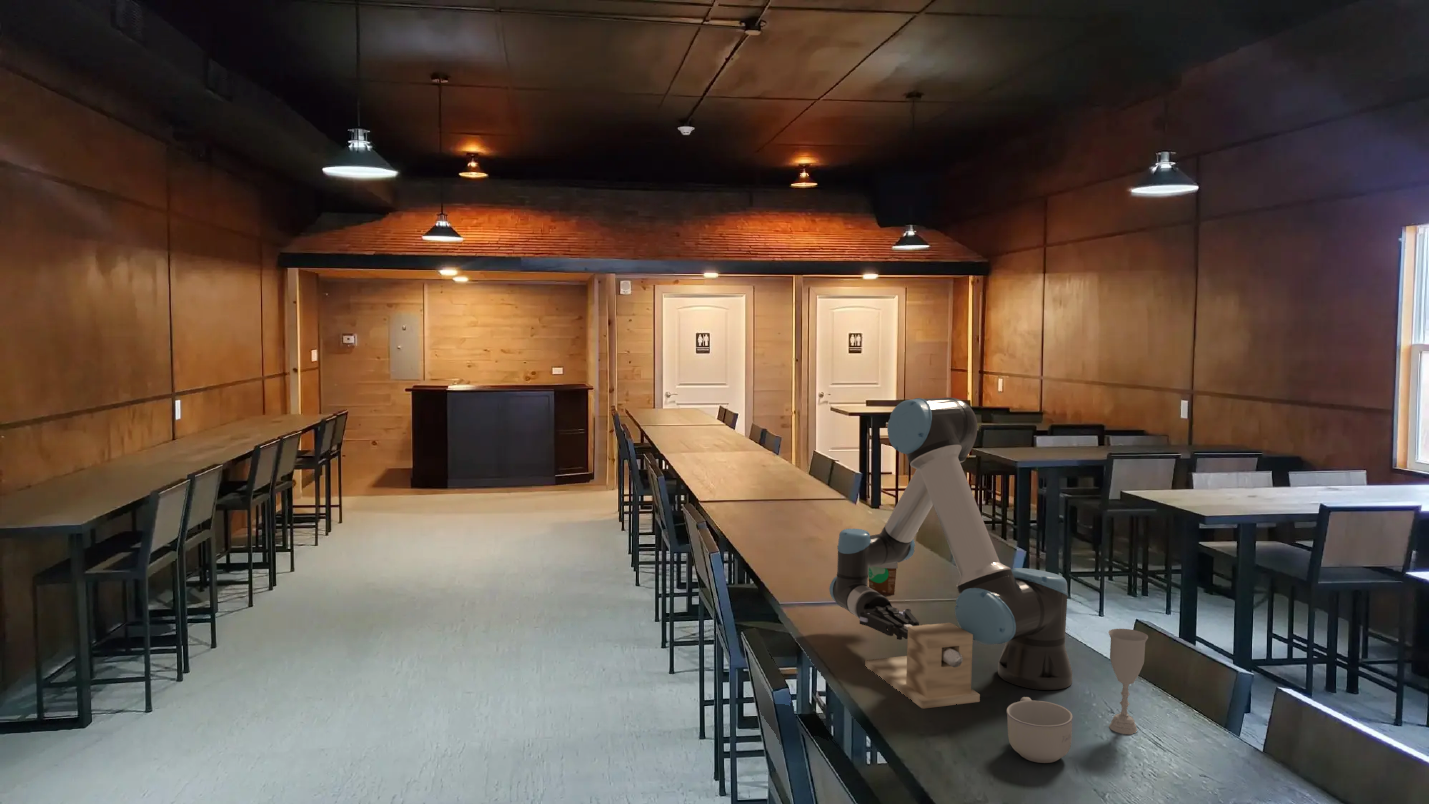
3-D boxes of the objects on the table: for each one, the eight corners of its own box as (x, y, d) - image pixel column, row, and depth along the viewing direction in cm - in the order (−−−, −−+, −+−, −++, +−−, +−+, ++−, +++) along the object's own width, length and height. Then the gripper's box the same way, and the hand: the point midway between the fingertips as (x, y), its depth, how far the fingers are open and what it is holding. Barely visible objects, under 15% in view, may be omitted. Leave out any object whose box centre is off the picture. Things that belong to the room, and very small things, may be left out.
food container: (857, 586, 272) (858, 552, 271) (876, 584, 274) (877, 551, 273) (877, 597, 260) (878, 562, 259) (896, 596, 262) (898, 561, 261)
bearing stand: (865, 666, 205) (867, 606, 204) (917, 661, 209) (919, 602, 208) (922, 708, 182) (924, 641, 181) (979, 701, 186) (982, 635, 185)
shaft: (908, 658, 193) (909, 625, 193) (937, 655, 195) (939, 622, 195) (939, 679, 182) (941, 643, 181) (970, 675, 184) (972, 640, 184)
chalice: (1110, 717, 180) (1115, 626, 178) (1148, 727, 175) (1153, 633, 174) (1098, 729, 174) (1103, 635, 173) (1137, 740, 170) (1142, 643, 168)
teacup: (1075, 773, 156) (1077, 726, 156) (1008, 765, 159) (1010, 720, 158) (1062, 738, 170) (1064, 695, 169) (1000, 732, 172) (1002, 689, 172)
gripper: (894, 620, 219) (948, 655, 197) (843, 624, 215) (893, 660, 193) (895, 589, 218) (950, 620, 196) (845, 592, 214) (894, 625, 192)
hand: (922, 640), depth 194 cm, fingers closed
